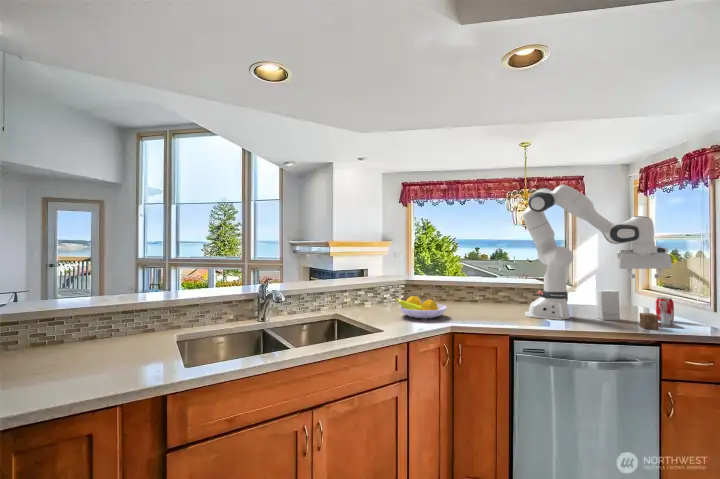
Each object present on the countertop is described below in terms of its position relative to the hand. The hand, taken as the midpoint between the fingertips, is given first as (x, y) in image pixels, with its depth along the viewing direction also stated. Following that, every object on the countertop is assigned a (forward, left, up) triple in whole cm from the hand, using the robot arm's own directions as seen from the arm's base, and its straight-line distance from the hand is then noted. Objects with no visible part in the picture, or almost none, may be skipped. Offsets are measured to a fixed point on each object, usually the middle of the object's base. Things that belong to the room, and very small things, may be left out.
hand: (644, 278), depth 170 cm
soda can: (+15, +18, -24) cm, 34 cm away
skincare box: (-11, +15, -24) cm, 30 cm away
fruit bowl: (-108, -3, -24) cm, 110 cm away
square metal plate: (+10, +6, -24) cm, 26 cm away
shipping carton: (0, -2, -24) cm, 24 cm away
